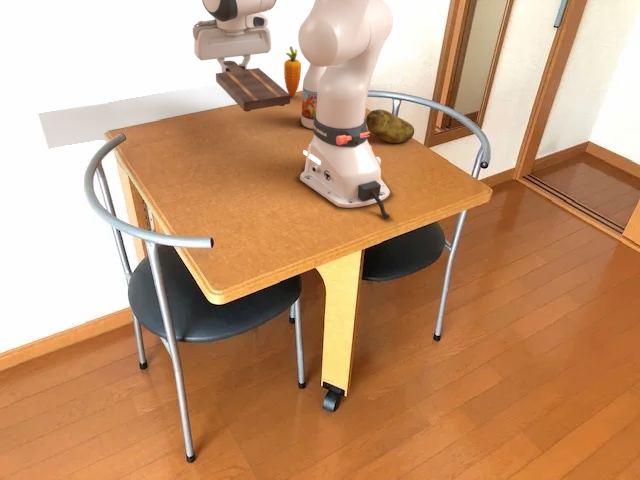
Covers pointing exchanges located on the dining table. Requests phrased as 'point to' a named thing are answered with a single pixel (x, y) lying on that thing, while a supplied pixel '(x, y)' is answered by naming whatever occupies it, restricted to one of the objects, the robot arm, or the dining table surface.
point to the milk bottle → (310, 94)
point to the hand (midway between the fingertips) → (234, 72)
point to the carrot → (292, 72)
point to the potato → (389, 126)
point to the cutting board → (251, 88)
